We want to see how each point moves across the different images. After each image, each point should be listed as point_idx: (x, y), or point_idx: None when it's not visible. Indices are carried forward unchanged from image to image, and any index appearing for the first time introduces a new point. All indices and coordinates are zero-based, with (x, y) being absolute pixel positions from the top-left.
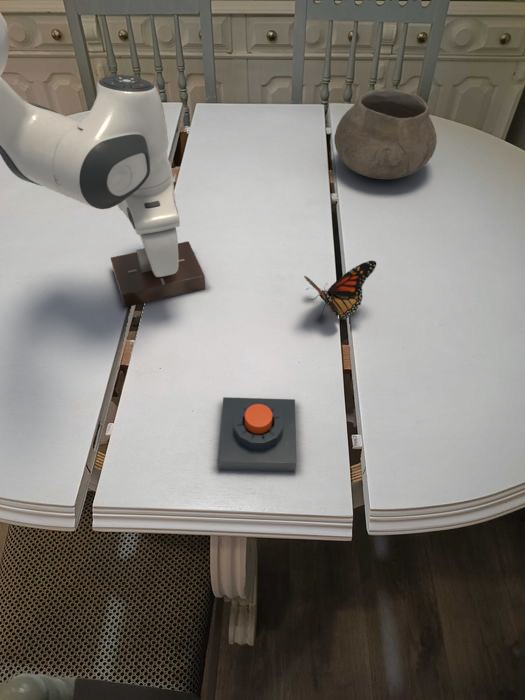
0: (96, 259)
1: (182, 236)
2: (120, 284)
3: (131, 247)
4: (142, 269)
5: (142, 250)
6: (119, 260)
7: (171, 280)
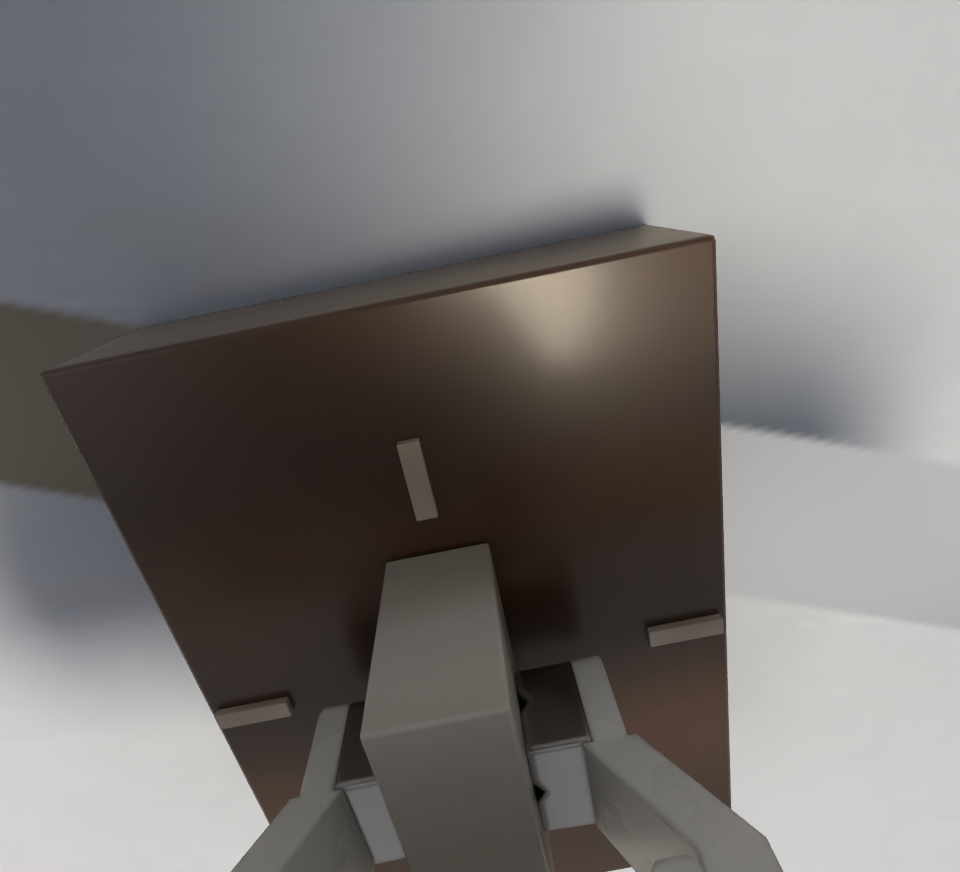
0: (874, 34)
1: (880, 704)
2: (211, 358)
3: (912, 380)
4: (382, 596)
5: (485, 769)
6: (632, 342)
7: (270, 762)
